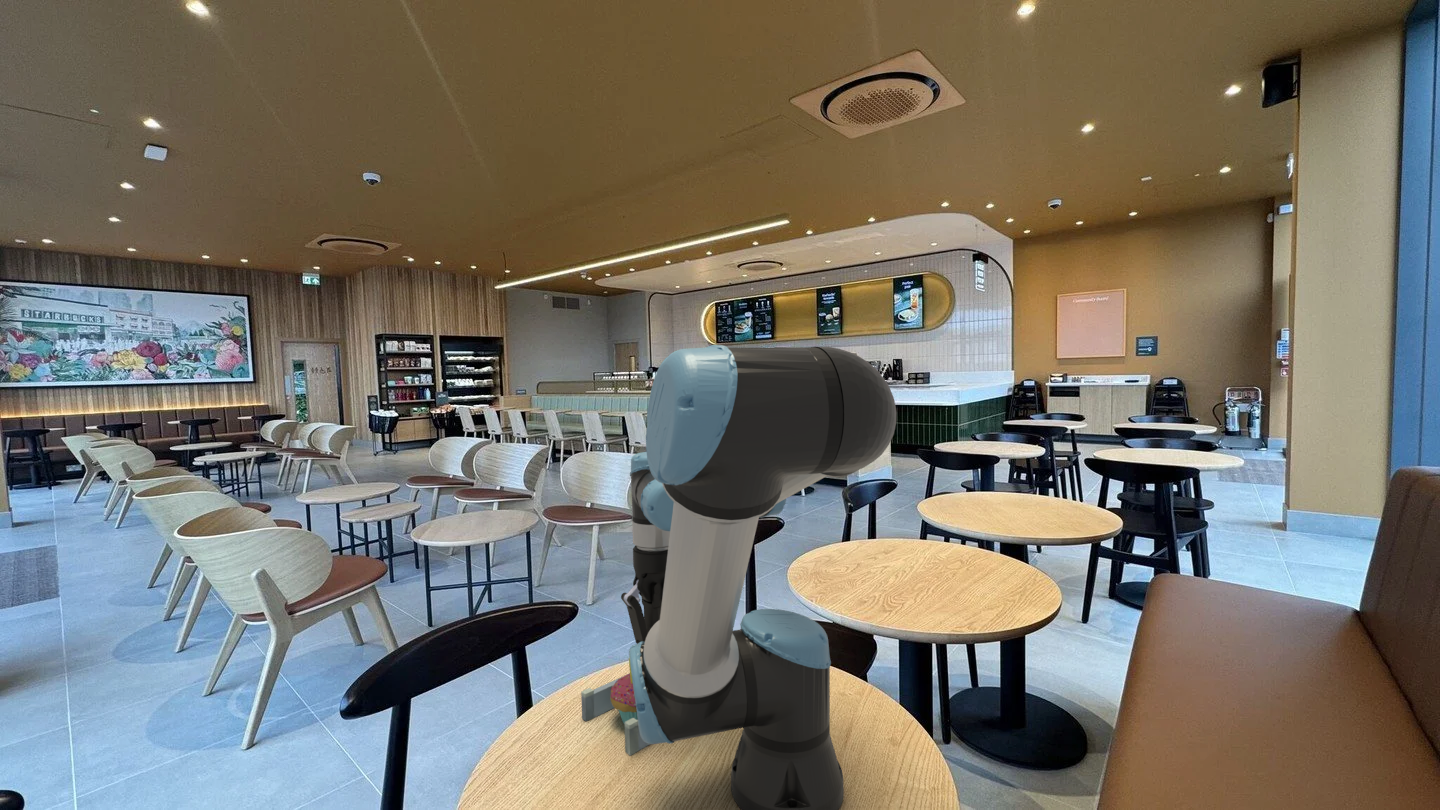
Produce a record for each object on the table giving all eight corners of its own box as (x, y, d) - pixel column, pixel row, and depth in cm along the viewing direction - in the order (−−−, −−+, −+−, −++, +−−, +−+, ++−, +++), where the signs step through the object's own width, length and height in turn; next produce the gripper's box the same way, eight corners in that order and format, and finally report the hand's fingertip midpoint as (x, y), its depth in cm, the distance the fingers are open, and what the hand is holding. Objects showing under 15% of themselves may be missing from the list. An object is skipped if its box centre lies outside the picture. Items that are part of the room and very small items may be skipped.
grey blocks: (699, 716, 96) (699, 688, 96) (630, 755, 86) (629, 725, 86) (649, 686, 105) (649, 661, 105) (582, 718, 96) (581, 691, 95)
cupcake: (653, 738, 90) (651, 662, 89) (601, 732, 92) (599, 658, 91) (669, 706, 99) (667, 637, 98) (621, 702, 100) (619, 634, 100)
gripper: (671, 532, 104) (674, 660, 105) (609, 548, 95) (614, 688, 97) (699, 540, 99) (702, 675, 100) (636, 558, 90) (640, 706, 91)
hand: (658, 681), depth 98 cm, fingers closed
